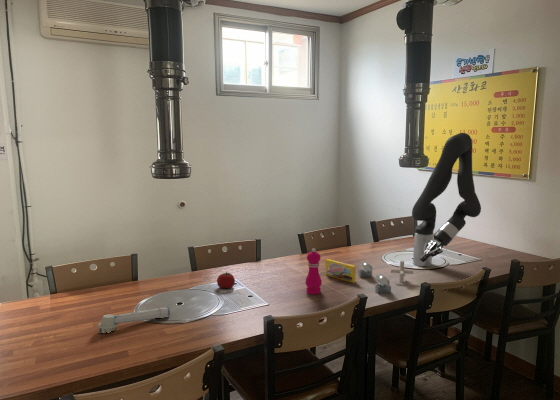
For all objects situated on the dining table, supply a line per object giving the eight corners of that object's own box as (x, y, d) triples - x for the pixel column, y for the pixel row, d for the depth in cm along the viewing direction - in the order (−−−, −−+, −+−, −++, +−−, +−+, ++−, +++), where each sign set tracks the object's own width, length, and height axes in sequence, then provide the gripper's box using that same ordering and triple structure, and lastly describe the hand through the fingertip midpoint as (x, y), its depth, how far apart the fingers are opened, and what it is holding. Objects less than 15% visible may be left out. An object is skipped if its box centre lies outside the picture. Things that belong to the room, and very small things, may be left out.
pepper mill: (310, 296, 176) (311, 251, 173) (302, 290, 182) (302, 247, 179) (324, 293, 179) (325, 249, 176) (316, 287, 185) (316, 245, 182)
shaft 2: (373, 289, 183) (373, 274, 182) (385, 288, 184) (386, 273, 183) (378, 294, 177) (378, 279, 176) (391, 293, 178) (391, 278, 177)
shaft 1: (357, 275, 201) (358, 261, 200) (369, 274, 202) (369, 260, 201) (362, 279, 195) (362, 265, 194) (374, 278, 196) (374, 264, 195)
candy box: (325, 275, 202) (325, 259, 200) (327, 274, 203) (328, 258, 202) (353, 283, 191) (353, 266, 189) (355, 282, 192) (355, 265, 191)
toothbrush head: (170, 309, 155) (100, 316, 141) (169, 326, 156) (99, 335, 142) (166, 304, 160) (98, 311, 146) (165, 321, 160) (96, 329, 146)
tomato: (228, 283, 192) (227, 268, 191) (238, 287, 187) (238, 272, 186) (214, 287, 187) (213, 272, 186) (224, 292, 181) (224, 276, 180)
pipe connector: (413, 286, 186) (414, 265, 184) (391, 284, 188) (392, 264, 186) (411, 278, 196) (412, 258, 194) (389, 277, 198) (390, 257, 196)
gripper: (433, 226, 198) (409, 252, 197) (449, 231, 185) (423, 259, 184) (443, 236, 199) (419, 261, 199) (459, 242, 186) (433, 269, 186)
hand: (421, 260), depth 192 cm, fingers closed
